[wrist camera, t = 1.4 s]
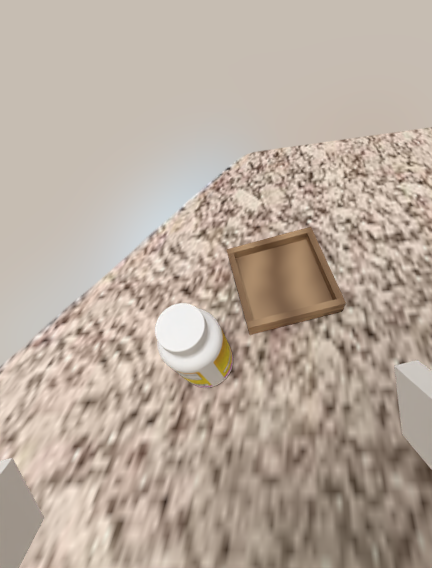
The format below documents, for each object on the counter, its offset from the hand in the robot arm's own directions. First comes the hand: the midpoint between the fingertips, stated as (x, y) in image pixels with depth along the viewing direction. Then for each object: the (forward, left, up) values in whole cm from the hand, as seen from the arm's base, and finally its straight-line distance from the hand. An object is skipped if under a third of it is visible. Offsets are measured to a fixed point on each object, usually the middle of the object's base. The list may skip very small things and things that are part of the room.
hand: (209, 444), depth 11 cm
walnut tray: (-9, -19, -27) cm, 34 cm away
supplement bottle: (+3, -11, -27) cm, 29 cm away
